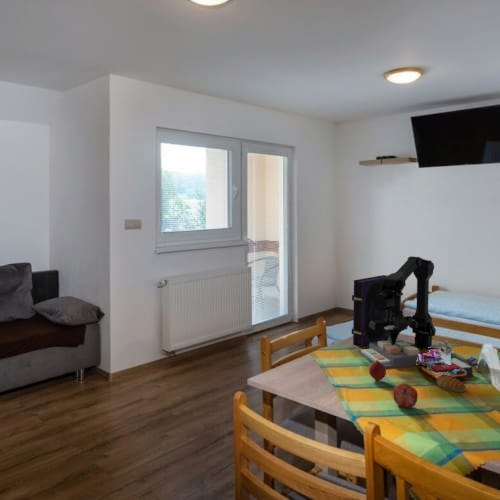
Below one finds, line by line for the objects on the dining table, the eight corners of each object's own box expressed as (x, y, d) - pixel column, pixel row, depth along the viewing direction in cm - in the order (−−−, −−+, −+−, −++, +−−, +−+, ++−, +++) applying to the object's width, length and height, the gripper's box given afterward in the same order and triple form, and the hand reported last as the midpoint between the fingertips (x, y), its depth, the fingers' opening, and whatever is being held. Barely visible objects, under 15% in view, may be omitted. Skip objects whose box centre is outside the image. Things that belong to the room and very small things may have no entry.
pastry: (470, 390, 160) (470, 380, 159) (458, 395, 156) (458, 384, 156) (445, 382, 168) (446, 372, 167) (434, 386, 164) (434, 376, 164)
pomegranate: (393, 407, 152) (386, 397, 145) (400, 386, 155) (394, 376, 148) (416, 415, 148) (410, 406, 141) (422, 393, 150) (417, 383, 143)
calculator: (420, 360, 181) (455, 356, 183) (420, 371, 181) (455, 367, 183) (435, 370, 170) (473, 365, 172) (436, 381, 170) (473, 376, 173)
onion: (386, 379, 170) (387, 358, 169) (384, 385, 165) (384, 363, 164) (370, 377, 172) (370, 356, 172) (367, 382, 167) (368, 361, 166)
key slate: (397, 344, 203) (397, 337, 203) (402, 347, 199) (402, 340, 198) (387, 345, 202) (388, 338, 202) (392, 348, 198) (393, 341, 198)
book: (381, 334, 229) (382, 274, 226) (392, 337, 224) (393, 276, 221) (351, 344, 214) (352, 280, 211) (362, 347, 209) (363, 281, 206)
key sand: (412, 353, 190) (413, 346, 190) (418, 356, 186) (419, 349, 186) (403, 354, 190) (403, 346, 189) (408, 357, 185) (409, 350, 185)
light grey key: (387, 347, 199) (387, 340, 198) (392, 350, 194) (392, 343, 194) (377, 348, 198) (377, 341, 198) (382, 351, 193) (382, 344, 193)
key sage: (404, 348, 197) (404, 341, 196) (410, 351, 192) (410, 344, 192) (395, 349, 196) (395, 342, 196) (400, 352, 192) (400, 345, 191)
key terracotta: (394, 352, 192) (394, 345, 192) (400, 355, 188) (400, 348, 188) (384, 352, 192) (385, 345, 191) (390, 356, 187) (390, 348, 187)
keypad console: (397, 349, 205) (397, 340, 205) (424, 365, 185) (424, 355, 185) (357, 352, 202) (357, 343, 201) (380, 368, 181) (380, 359, 181)
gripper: (381, 312, 178) (380, 352, 180) (425, 310, 182) (424, 349, 183) (368, 306, 189) (368, 344, 191) (410, 304, 193) (409, 341, 194)
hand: (392, 344), depth 189 cm, fingers closed
